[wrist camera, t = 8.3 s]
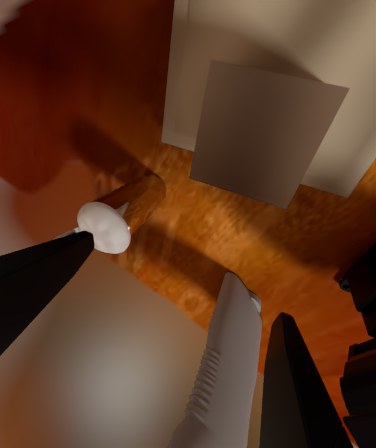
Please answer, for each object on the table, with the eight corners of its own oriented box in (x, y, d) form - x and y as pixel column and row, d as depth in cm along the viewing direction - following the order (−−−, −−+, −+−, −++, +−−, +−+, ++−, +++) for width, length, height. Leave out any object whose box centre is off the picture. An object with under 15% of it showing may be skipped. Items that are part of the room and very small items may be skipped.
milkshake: (122, 168, 23) (40, 214, 16) (167, 165, 21) (98, 217, 13) (134, 206, 26) (68, 263, 18) (176, 207, 24) (121, 272, 16)
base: (500, -61, 10) (558, -98, 8) (340, 183, 17) (347, 199, 15) (201, -86, 12) (184, -119, 10) (173, 135, 19) (160, 142, 17)
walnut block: (325, 83, 12) (350, 88, 7) (286, 168, 15) (286, 209, 10) (238, 65, 13) (211, 59, 8) (217, 148, 16) (189, 178, 11)
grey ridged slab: (211, 270, 27) (76, 618, 10) (243, 266, 25) (143, 705, 7) (244, 328, 30) (188, 654, 13) (274, 328, 28) (255, 720, 11)
